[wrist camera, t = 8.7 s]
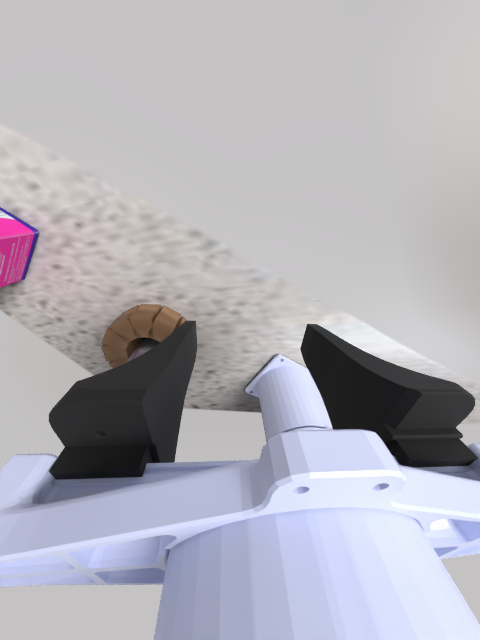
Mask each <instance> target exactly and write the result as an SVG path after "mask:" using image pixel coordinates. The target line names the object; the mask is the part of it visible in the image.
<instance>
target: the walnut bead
mask: <svg viewBox="0 0 480 640" xmlns="http://www.w3.org/2000/svg"><path fill="white" fill-rule="evenodd" d="M180 315H181V314H179V313H177V312H175V311H173V310H171V309H170V308H168V307H166V306H164V307H163V308H162V310H161V305H150V304H141V305H140V306H139V305H137V306H135V307H133V308H131V309H130V310H128V311H126V312H124V313H123V314H122V315H121V316H120V317H119V318H118V319H117V320H116V321H115V322H114V323H113V324H112V325H111V326H110V327H109V328H108V329H107V330H106V333H105V335H104V338H103V340H102V344H103V345H102V349H103V352H104V355H105V358H106V360H107V361H110V363H109V364H110V365H111V366H112V367H113V368H116V367H118V366H120V365H122V364H125V363H126V362H127V361H128V359H129V358H130V356H131V355H132V353H133V352H134V350H135V348H136V347H137V345H138V344H139V339H138V337H143V338H152V339H155V340H157V341H159V342H162V341H163V340H164V339H166V338H167V337H168V336H169V335H170V334H172V333H173V332H174V331H175V330H176V329H177V328H178V327H179V326H180V325H182V324H183V323H184V322H185V321H187V320H186V319H185V318H184V317H182V318H180ZM179 318H180V319H179Z"/></svg>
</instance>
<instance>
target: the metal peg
mask: <svg viewBox="0 0 480 640" xmlns="http://www.w3.org/2000/svg"><path fill="white" fill-rule="evenodd" d="M159 343H160V342H159V341H157V340H155V339H152V338H142V339H141V341H140V342H139V344H138V345H137V347H136V348H135V350H134V352H133V353H132V355H131V356H130V358H129V359H128V361H127V362H129V361H131V360H132V359H134V358H136V357H138V356H140V355H142V354H144V353H145V352H147V351H149V350H150V349H152V348H153V347H155V346H156V345H158V344H159ZM127 362H126V363H127Z"/></svg>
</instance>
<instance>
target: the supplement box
mask: <svg viewBox="0 0 480 640" xmlns="http://www.w3.org/2000/svg"><path fill="white" fill-rule="evenodd" d="M38 234H39V231H38V230H37V229H35V228H34V227H32V226H30V225H29V224H27V223H25V222H24V221H22V220H21V219H19V218H17V217H16V216H14V215H12V214H11V213H9V212H7V211H6V210H4V209H2V208H1V207H0V287H3V286H6V285H9V284H12V283H14V282H17V281H20V280H23V279H25V275H26V272H27V269H28V266H29V262H30V259H31V256H32V253H33V249H34V246H35V243H36V240H37V237H38Z"/></svg>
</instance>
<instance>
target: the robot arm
mask: <svg viewBox="0 0 480 640" xmlns="http://www.w3.org/2000/svg"><path fill="white" fill-rule="evenodd" d="M196 352H197V336H196V321H185V322H184V323H183V324H182V325H180V326H179V327H178V328H177V329H176V330H175V331H174V332H173V333H172V334H170V335H169V336H168V337H167V338H166V339H164V340H163V341H162V342H160V343H159V344H158V345H156V346H155V347H153V348H152V349H150V350H149V351H147V352H145V353H144V354H142V355H140V356H138V357H136V358H134V359H132V360H131V361H129V362H127V363H125V364H122V365H120V366H118V367H116V368H113V369H111V370H108V371H106V372H103V373H100V374H98V375H95V376H92V377H89V378H86V379H83V380H80V381H77V382H76V383H75V384H74V385H73V386H72V387H71V388H70V390H69V391H68V392H67V393H66V394H65V395H64V396H63V398H62V399H61V400H60V401H59V402H58V403H57V404H56V405H55V407H54V408H53V409H52V410H51V412H50V414H49V422H50V425H51V427H52V429H53V430H54V432H55V433H56V434H57V436H58V437H59V438H60V440H61V442H62V443H63V445H64V446H65V448H64V449H63V451H62V452H61V454H60V455H59V457H57V456H55V455H52V454H17V455H14V456H13V457H12V458H11V459H10V460H9V461H8V462H7V463H6V465H5V466H4V467H3V468H2V469H1V470H0V587H15V586H39V585H40V586H41V585H135V584H136V585H137V584H138V585H144V584H145V585H146V584H163V589H162V595H161V600H160V606H159V612H158V618H157V624H156V629H155V636H154V640H480V625H479V623H478V621H477V620H476V618H475V616H474V615H473V613H472V611H471V610H470V608H469V606H468V605H467V603H466V601H465V600H464V598H463V597H462V595H461V593H460V592H459V590H458V588H457V587H456V585H455V583H454V582H453V580H452V578H451V577H450V575H449V573H448V572H447V570H446V568H445V567H444V565H443V564H442V562H441V560H440V559H445V558H451V557H458V556H465V555H472V554H479V553H480V443H475V444H470V445H468V446H466V445H465V444H464V443H463V442H462V441H461V440H460V439H459V438H462V437H463V435H462V433H460V432H459V431H458V430H457V429H456V427H457V425H459V424H460V423H461V422H462V421H463V420H464V419H465V418H466V417H467V416H468V415H469V414H470V412H471V411H472V410H473V408H474V406H475V398H474V397H473V396H472V395H471V394H470V393H469V392H468V391H466V390H465V389H464V388H462V387H461V386H460V385H458V384H456V383H454V382H450V381H447V380H443V379H439V378H435V377H432V376H428V375H424V374H421V373H418V372H415V371H412V370H409V369H406V368H403V367H400V366H397V365H395V364H392V363H390V362H387V361H384V360H382V359H380V358H377V357H375V356H373V355H371V354H369V353H367V352H365V351H363V350H361V349H359V348H357V347H355V346H353V345H351V344H349V343H348V342H346V341H344V340H343V339H341V338H339V337H338V336H336V335H334V334H333V333H331V332H329V331H328V330H326V329H324V328H323V327H321V326H319V325H317V324H307V327H306V331H305V334H304V338H303V342H302V345H301V353H302V356H303V359H304V362H305V364H306V366H307V368H308V369H307V368H305V367H303V366H301V365H299V364H297V363H295V362H294V361H292V360H290V359H288V358H286V357H284V356H282V355H280V354H278V355H276V356H275V357H274V358H273V359H272V360H271V361H270V362H269V363H268V364H267V366H266V367H265V368H264V369H263V370H262V371H261V372H260V373H259V374H258V375H257V376H256V377H255V378H254V379H253V381H252V382H251V383H250V384H249V385H248V386H247V387H246V388H245V392H246V393H248V394H250V395H253V396H255V397H258V398H259V400H260V406H261V412H262V418H263V424H264V430H265V436H266V442H267V443H266V445H265V446H263V449H262V453H261V457H260V459H256V460H249V461H248V460H246V461H212V462H180V463H179V462H178V463H174V461H175V454H176V447H177V441H178V434H179V428H180V422H181V415H182V410H183V405H184V399H185V395H186V391H187V387H188V384H189V380H190V377H191V374H192V370H193V367H194V363H195V358H196ZM281 359H283V360H281Z"/></svg>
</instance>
